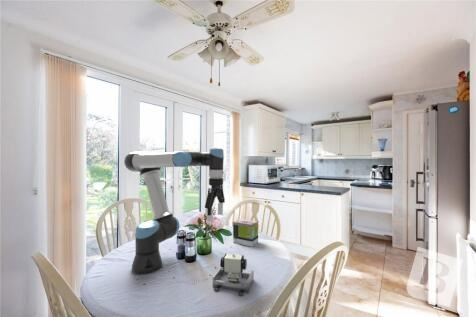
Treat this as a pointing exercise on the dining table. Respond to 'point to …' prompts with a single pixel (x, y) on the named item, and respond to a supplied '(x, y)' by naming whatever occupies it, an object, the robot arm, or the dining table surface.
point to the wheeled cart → (241, 285)
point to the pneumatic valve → (233, 265)
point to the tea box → (245, 232)
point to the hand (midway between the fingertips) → (215, 217)
